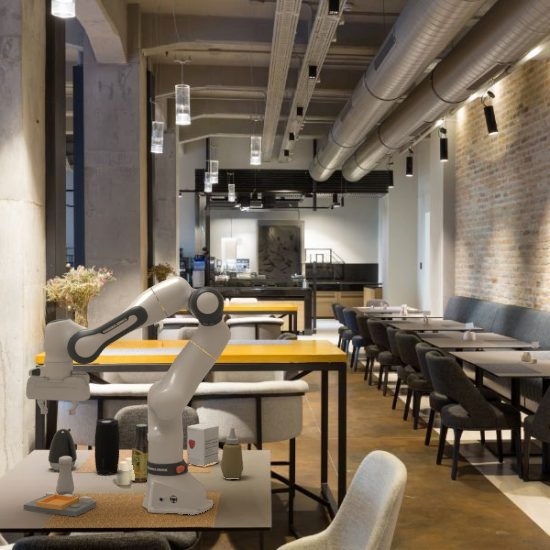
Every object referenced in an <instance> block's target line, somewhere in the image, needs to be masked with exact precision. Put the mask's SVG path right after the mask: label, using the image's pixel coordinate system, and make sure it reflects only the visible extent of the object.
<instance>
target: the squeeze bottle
mask: <svg viewBox="0 0 550 550" xmlns="http://www.w3.org/2000/svg"><path fill="white" fill-rule="evenodd" d="M229 430H230V431H229V435H228V437H226V438H225V444H224V445H223V446H222V447H223V448H222V455H221V465H220V469H221V473H222V476H223V478H224V477H225V478H239V477H240V476H242V474H243V471H244V462H243V461H244V460H243V451H242V445H241V444H240V442H239V441H240V440H239V437H237V436H236V432H235V428H234V427H231V428H230V429H229ZM240 478H241V477H240Z"/></svg>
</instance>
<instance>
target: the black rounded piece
mask: <svg viewBox="0 0 550 550" xmlns="http://www.w3.org/2000/svg"><path fill="white" fill-rule="evenodd" d="M71 431H72V429H71V428H68V429H66V428H60V429H59V430H57V431H56V432H55V434H54V435H53V438H52V440H51V443H50V447H49V450H48V451H49V453H48V458H47V459H48V460H47V461H48V462H49V463H48V464H49V465H50V468H52V470H54V471H56V472H59V471H60V466H61V465H60V464H59V458H60V457H62V456H70V457H72V464H70V465H71V469H73V467H74V466H75V464H76V461H77V458H78V457H77V450H76V445H75V440H74V439H73V435H72V433H71Z"/></svg>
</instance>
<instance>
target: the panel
mask: <svg viewBox="0 0 550 550" xmlns="http://www.w3.org/2000/svg"><path fill="white" fill-rule="evenodd" d="M94 507H95V508H96V507H97V501H94V500H93V499H92V496H85V495H83V496H81V497H80V496H75V494H72V495H71V494H65V495H58V494H57V492H54V491H48V492H46V493H45V495H43V496H41V497H38V498H36V499H35V500H31V501H29V502H27V503H25V504H23V511H29V512H36V511H37V513H45V514H52V515H58V514H60V516H65V515H67V517H72V516H74V517H75V518H77V517H78V515H79V516H81V515H83V514H85V513H86V512H88V510H89V511H90V509H91V510H93V509H95V508H94ZM92 508H93V509H92ZM84 512H85V513H84ZM82 513H83V514H82ZM80 514H81V515H80ZM76 516H77V517H76Z"/></svg>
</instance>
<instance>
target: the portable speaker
mask: <svg viewBox="0 0 550 550" xmlns="http://www.w3.org/2000/svg"><path fill="white" fill-rule="evenodd" d="M95 424H96V425H95V433H94V462H95V463H94V465H95V471H96V472H97V474H98V475H99V474H102V475H101V476H109V475H110V474H111V473H115V472H117V473H118V469H119V461H120V428H119V427H120V426H119V420H118V419H116V418H113V417H105V418H102V419H96V423H95Z"/></svg>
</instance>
